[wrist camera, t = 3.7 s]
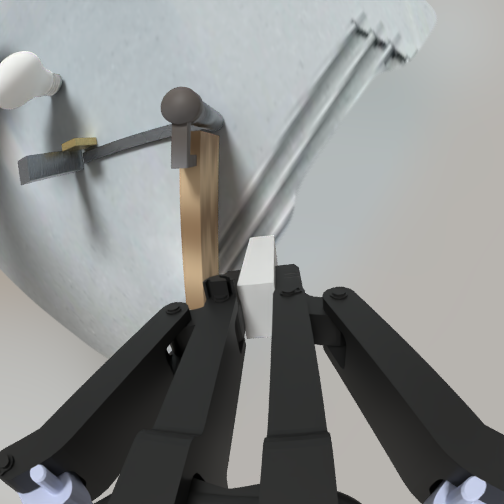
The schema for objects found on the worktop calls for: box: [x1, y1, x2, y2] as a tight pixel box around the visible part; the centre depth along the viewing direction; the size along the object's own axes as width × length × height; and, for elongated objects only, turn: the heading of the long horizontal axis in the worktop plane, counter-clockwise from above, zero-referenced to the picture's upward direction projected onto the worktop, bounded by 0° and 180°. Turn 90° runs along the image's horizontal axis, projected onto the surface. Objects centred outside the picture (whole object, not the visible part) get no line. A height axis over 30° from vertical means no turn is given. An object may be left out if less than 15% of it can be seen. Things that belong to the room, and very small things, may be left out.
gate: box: [161, 87, 219, 310], centre depth 21 cm, size 17×2×10 cm, turn 178°
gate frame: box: [18, 101, 224, 185], centre depth 21 cm, size 19×3×9 cm, turn 98°
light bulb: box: [0, 51, 62, 109], centre depth 17 cm, size 7×7×11 cm
